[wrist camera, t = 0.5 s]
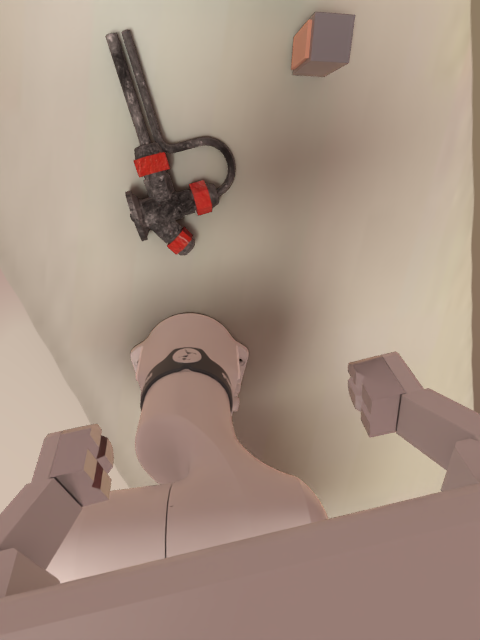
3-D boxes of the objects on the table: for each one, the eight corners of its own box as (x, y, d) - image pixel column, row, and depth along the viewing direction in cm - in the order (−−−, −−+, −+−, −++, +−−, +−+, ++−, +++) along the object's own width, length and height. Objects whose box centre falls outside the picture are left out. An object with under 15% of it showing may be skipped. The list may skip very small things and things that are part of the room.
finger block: (323, 76, 47) (348, 63, 39) (289, 74, 47) (306, 60, 39) (328, 37, 46) (355, 14, 38) (292, 35, 45) (311, 11, 37)
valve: (246, 232, 57) (147, 261, 55) (196, 24, 47) (74, 52, 45) (257, 238, 51) (147, 270, 49) (203, 2, 41) (63, 33, 39)
